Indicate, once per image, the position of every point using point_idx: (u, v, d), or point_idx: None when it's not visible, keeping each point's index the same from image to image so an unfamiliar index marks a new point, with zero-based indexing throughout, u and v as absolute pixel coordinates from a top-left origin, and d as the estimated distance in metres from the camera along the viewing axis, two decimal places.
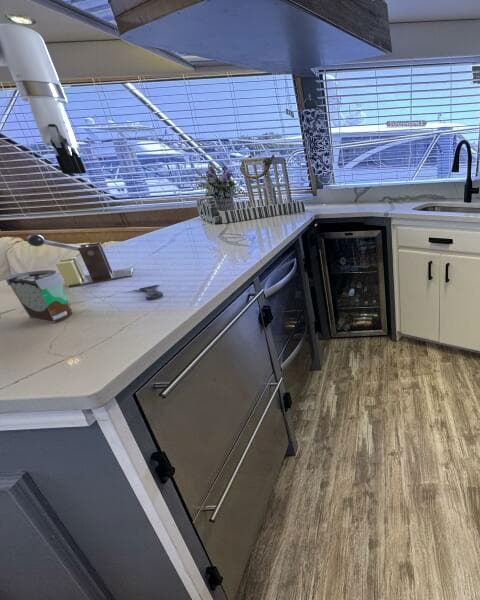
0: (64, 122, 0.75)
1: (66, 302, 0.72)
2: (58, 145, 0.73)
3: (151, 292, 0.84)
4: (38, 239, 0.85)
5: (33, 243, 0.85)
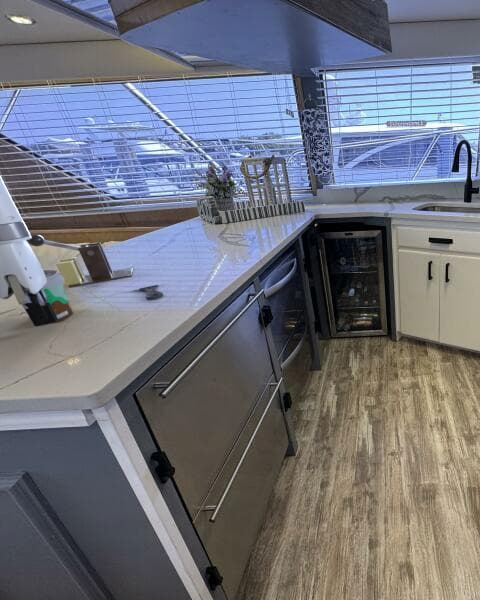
0: (26, 267, 0.59)
1: (67, 302, 0.72)
2: (29, 303, 0.62)
3: (151, 292, 0.84)
4: (38, 239, 0.85)
5: (33, 243, 0.85)
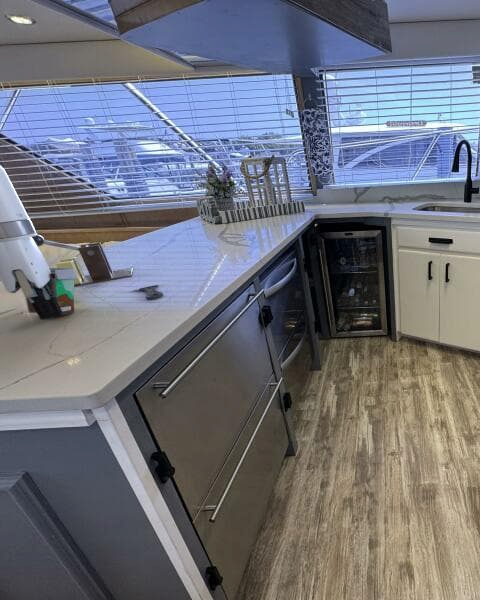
0: (32, 263, 0.62)
1: (73, 298, 0.74)
2: (35, 296, 0.64)
3: (151, 292, 0.84)
4: (38, 239, 0.85)
5: None
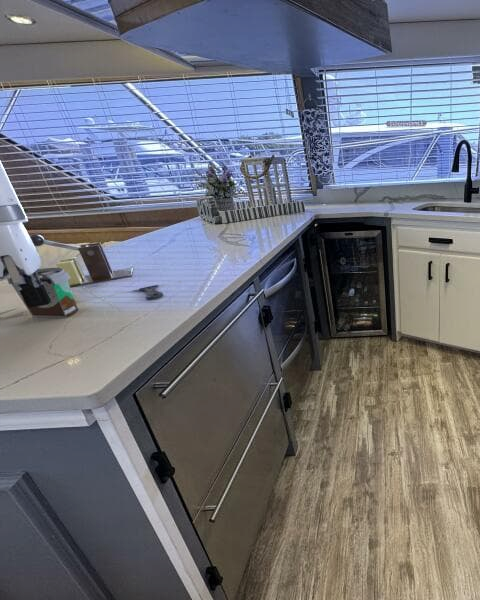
0: (22, 249, 0.61)
1: (73, 297, 0.75)
2: (23, 284, 0.63)
3: (151, 292, 0.84)
4: (38, 239, 0.85)
5: (33, 243, 0.85)
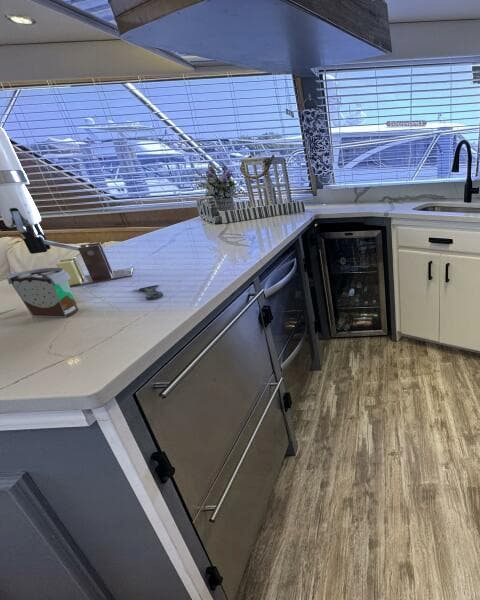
0: (25, 204, 0.80)
1: (73, 297, 0.75)
2: (26, 232, 0.81)
3: (151, 292, 0.84)
4: None
5: None
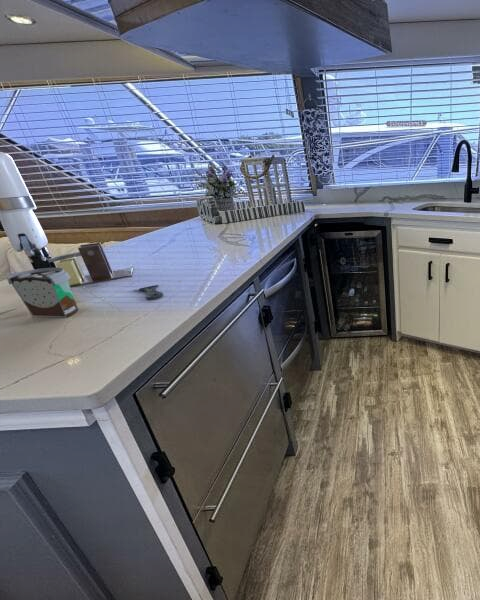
0: (33, 229, 0.82)
1: (73, 297, 0.75)
2: (33, 256, 0.83)
3: (151, 292, 0.84)
4: None
5: None
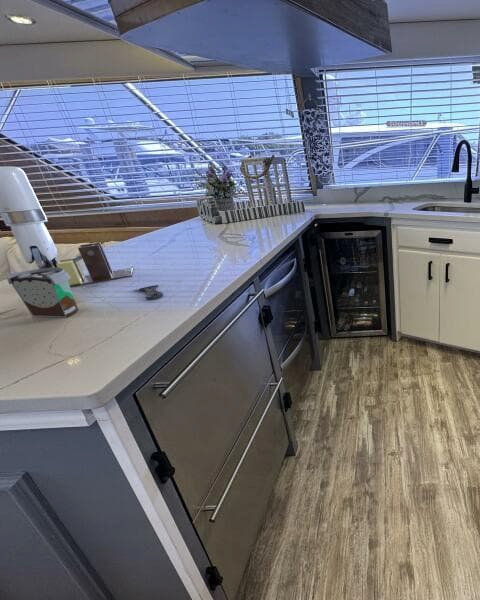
0: (44, 241, 0.84)
1: (73, 297, 0.75)
2: None
3: (151, 292, 0.84)
4: None
5: None
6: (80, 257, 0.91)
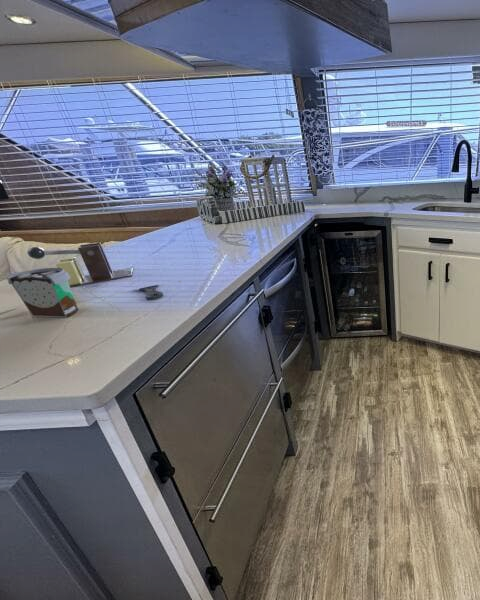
0: None
1: (73, 297, 0.75)
2: None
3: (151, 292, 0.84)
4: (38, 251, 0.86)
5: (35, 256, 0.86)
6: (77, 252, 0.91)
